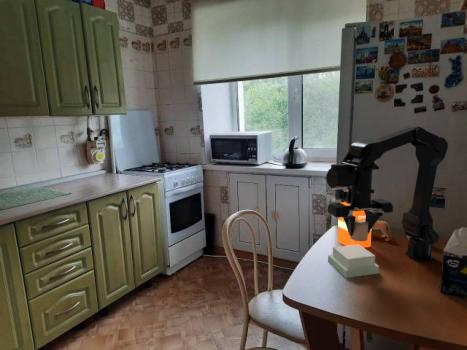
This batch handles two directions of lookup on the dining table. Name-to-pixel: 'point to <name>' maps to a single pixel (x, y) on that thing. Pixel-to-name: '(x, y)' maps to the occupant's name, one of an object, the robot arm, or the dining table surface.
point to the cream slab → (353, 256)
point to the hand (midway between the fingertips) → (358, 234)
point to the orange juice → (344, 235)
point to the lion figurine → (383, 229)
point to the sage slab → (353, 271)
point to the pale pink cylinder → (360, 231)
